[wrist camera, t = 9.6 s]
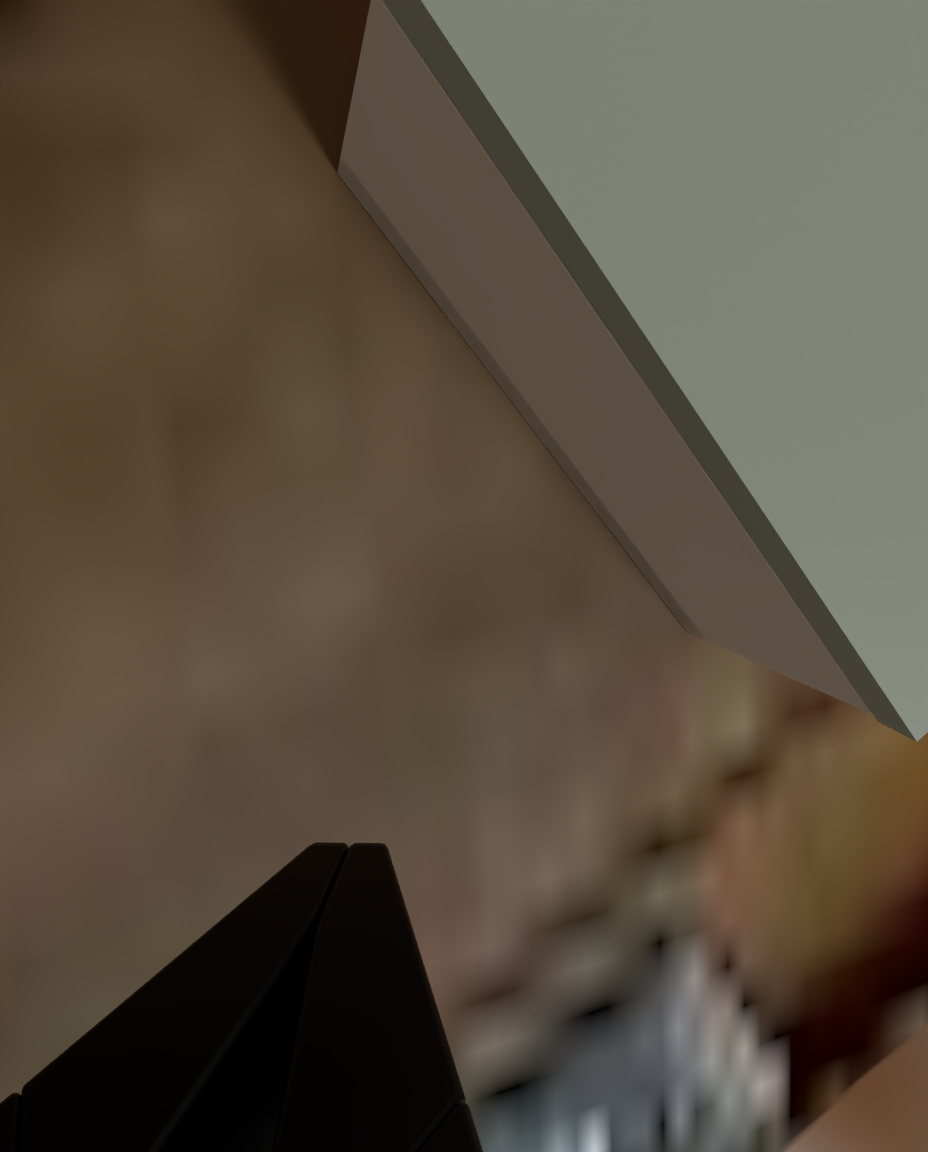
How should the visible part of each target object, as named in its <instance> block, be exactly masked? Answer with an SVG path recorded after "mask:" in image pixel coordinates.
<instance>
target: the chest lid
mask: <svg viewBox="0 0 928 1152" xmlns="http://www.w3.org/2000/svg"><path fill="white" fill-rule="evenodd" d="M384 1H385V2H386V4H387V5H388V7H389V8H390V10H391V11H392V13H393V14H394V15H395V17H396V18H397V20H398V21H399V23H400V24H401V26H402V27H403V29H404V30H405V32H406V33H407V34H408V36H409V37H410V39H411V40H412V42H413V43H414V45H415V46H416V48H417V49H418V51H419V52H420V53H421V55H422V56H423V58H424V59H425V61H426V62H427V64H428V65H429V67H430V68H431V70H432V71H433V72H434V74H435V75H436V77H437V78H438V80H439V81H440V83H441V84H442V86H443V87H444V88H445V90H446V91H447V93H448V94H449V96H450V97H451V99H452V100H453V102H454V103H455V105H456V106H457V107H458V109H459V110H460V112H461V113H462V115H463V116H464V118H465V119H466V121H467V122H468V124H469V125H470V126H471V128H472V129H473V131H474V132H475V134H476V135H477V137H478V138H479V140H480V141H481V142H482V144H483V145H484V147H485V148H486V150H487V151H488V153H489V154H490V156H491V157H492V159H493V160H494V161H495V163H496V164H497V166H498V167H499V169H500V170H501V172H502V173H503V175H504V176H505V178H506V179H507V180H508V182H509V183H510V185H511V186H512V188H513V189H514V191H515V192H516V194H517V195H518V197H519V198H520V199H521V201H522V202H523V204H524V205H525V207H526V208H527V210H528V211H529V213H530V214H531V215H532V217H533V218H534V220H535V221H536V223H537V224H538V226H539V227H540V229H541V230H542V232H543V233H544V234H545V236H546V237H547V239H548V240H549V242H550V243H551V245H552V246H553V248H554V249H555V251H556V252H557V253H558V255H559V256H560V258H561V259H562V261H563V262H564V264H565V265H566V267H567V268H568V270H569V271H570V272H571V274H572V275H573V277H574V278H575V280H576V281H577V283H578V284H579V286H580V287H581V288H582V290H583V291H584V293H585V294H586V296H587V297H588V299H589V300H590V302H591V303H592V305H593V306H594V307H595V309H596V310H597V312H598V313H599V315H600V316H601V318H602V319H603V321H604V322H605V324H606V325H607V326H608V328H609V329H610V331H611V332H612V334H613V335H614V337H615V338H616V340H617V341H618V342H619V344H620V345H621V347H622V348H623V350H624V351H625V353H626V354H627V356H628V357H629V359H630V360H631V361H632V363H633V364H634V366H635V367H636V369H637V370H638V372H639V373H640V375H641V376H642V378H643V379H644V380H645V382H646V383H647V385H648V386H649V388H650V389H651V391H652V392H653V394H654V395H655V397H656V398H657V399H658V401H659V402H660V404H661V405H662V407H663V408H664V410H665V411H666V413H667V414H668V415H669V417H670V418H671V420H672V421H673V423H674V424H675V426H676V427H677V429H678V430H679V432H680V433H681V434H682V436H683V437H684V439H685V440H686V442H687V443H688V445H689V446H690V448H691V449H692V451H693V452H694V453H695V455H696V456H697V458H698V459H699V461H700V462H701V464H702V465H703V467H704V468H705V470H706V471H707V472H708V474H709V475H710V477H711V478H712V480H713V481H714V483H715V484H716V486H717V487H718V488H719V490H720V491H721V493H722V494H723V496H724V497H725V499H726V500H727V502H728V503H729V505H730V506H731V507H732V509H733V510H734V512H735V513H736V515H737V516H738V518H739V519H740V521H741V522H742V524H743V525H744V526H745V528H746V529H747V531H748V532H749V534H750V535H751V537H752V538H753V540H754V541H755V542H756V544H757V545H758V547H759V548H760V550H761V551H762V553H763V554H764V556H765V557H766V559H767V560H768V561H769V563H770V564H771V566H772V567H773V569H774V570H775V572H776V573H777V575H778V576H779V578H780V579H781V580H782V582H783V583H784V585H785V586H786V588H787V589H788V591H789V592H790V594H791V595H792V597H793V598H794V599H795V601H796V602H797V604H798V605H799V607H800V608H801V610H802V611H803V613H804V614H805V615H806V617H807V618H808V620H809V621H810V623H811V624H812V626H813V627H814V629H815V630H816V632H817V633H818V634H819V636H820V637H821V639H822V640H823V642H824V643H825V645H826V646H827V648H828V649H829V651H830V652H831V653H832V655H833V656H834V658H835V659H836V661H837V662H838V664H839V665H840V667H841V668H842V670H843V671H844V672H845V674H846V675H847V677H848V678H849V680H850V681H851V683H852V684H853V686H854V687H855V688H856V690H857V691H858V693H859V694H860V696H861V697H862V699H863V700H864V702H865V703H866V705H867V706H868V707H869V709H870V710H871V712H872V713H873V715H874V716H875V718H876V719H877V721H878V722H880V723H882V724H884V725H886V726H888V727H890V728H892V729H894V730H896V731H897V732H899V733H901V734H903V735H905V736H907V737H909V738H911V739H913V740H915V741H918V740H919V739H920V738H922V737H923V736H924V735H925V734H926V733H927V732H928V0H384Z"/></svg>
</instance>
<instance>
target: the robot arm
mask: <svg viewBox="0 0 928 1152" xmlns="http://www.w3.org/2000/svg"><path fill="white" fill-rule="evenodd" d="M0 1152H483V1150H482V1147H481V1144H480V1141H479V1138H478V1134H477V1131H476V1128H475V1125H474V1121H473V1118H472V1115H471V1112H470V1108H469V1106H468V1105H467V1104H466V1103H465V1096H464V1092H463V1089H462V1086H461V1083H460V1080H459V1076H458V1073H457V1070H456V1067H455V1063H454V1060H453V1057H452V1054H451V1051H450V1047H449V1044H448V1041H447V1038H446V1034H445V1031H444V1028H443V1025H442V1022H441V1018H440V1015H439V1012H438V1009H437V1005H436V1002H435V999H434V996H433V993H432V989H431V986H430V983H429V980H428V976H427V973H426V970H425V967H424V964H423V960H422V957H421V954H420V951H419V947H418V944H417V941H416V938H415V935H414V931H413V928H412V925H411V922H410V918H409V915H408V912H407V909H406V906H405V902H404V899H403V896H402V893H401V889H400V886H399V883H398V880H397V877H396V873H395V870H394V867H393V864H392V860H391V857H390V854H389V851H388V848H387V846H386V845H385V844H382V843H354V844H353V845H351V846H350V847H348V845H346V844H345V843H314V844H312V845H310V846H308V847H307V848H306V849H305V850H304V851H302V852H301V853H300V854H299V855H298V856H296V857H295V858H294V859H293V860H292V861H291V862H289V863H288V864H287V865H286V866H285V867H283V868H282V869H281V870H280V871H279V872H277V873H276V874H275V875H274V876H273V877H271V878H270V879H269V880H268V881H267V882H266V883H264V884H263V885H262V886H261V887H260V888H258V889H257V890H256V891H255V892H254V893H252V894H251V895H250V896H249V897H248V898H246V899H245V900H244V901H243V902H242V903H241V904H239V905H238V906H237V907H236V908H235V909H233V910H232V911H231V912H230V913H229V914H227V915H226V916H225V917H224V918H223V919H221V920H220V921H219V922H218V923H217V924H215V925H214V926H213V927H212V928H211V929H210V930H208V931H207V932H206V933H205V934H204V935H202V936H201V937H200V938H199V939H198V940H196V941H195V942H194V943H193V944H192V945H190V946H189V947H188V948H187V949H186V950H185V951H183V952H182V953H181V954H180V955H179V956H177V957H176V958H175V959H174V960H173V961H171V962H170V963H169V964H168V965H167V966H165V967H164V968H163V969H162V970H161V971H160V972H158V973H157V974H156V975H155V976H154V977H152V978H151V979H150V980H149V981H148V982H146V983H145V984H144V985H143V986H142V987H140V988H139V989H138V990H137V991H136V992H135V993H133V994H132V995H131V996H130V997H129V998H127V999H126V1000H125V1001H124V1002H123V1003H121V1004H120V1005H119V1006H118V1007H117V1008H115V1009H114V1010H113V1011H112V1012H111V1013H109V1014H108V1015H107V1016H106V1017H105V1018H104V1019H102V1020H101V1021H100V1022H99V1023H98V1024H96V1025H95V1026H94V1027H93V1028H92V1029H90V1030H89V1031H88V1032H87V1033H86V1034H84V1035H83V1036H82V1037H81V1038H80V1039H79V1040H77V1041H76V1042H75V1043H74V1044H73V1045H71V1046H70V1047H69V1048H68V1049H67V1050H65V1051H64V1052H63V1053H62V1054H61V1055H59V1056H58V1057H57V1058H56V1059H55V1060H54V1061H52V1062H51V1063H50V1064H49V1065H48V1066H46V1067H45V1068H44V1069H43V1070H42V1071H40V1072H39V1073H38V1074H37V1075H36V1076H34V1077H33V1078H32V1079H31V1080H30V1081H29V1082H27V1083H26V1084H25V1085H24V1087H23V1089H22V1094H21V1095H20V1094H19V1093H13V1094H11V1095H10V1096H8V1097H7V1098H6V1099H5V1100H4V1101H2V1102H1V1103H0Z"/></svg>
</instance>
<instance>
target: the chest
mask: <svg viewBox="0 0 928 1152" xmlns="http://www.w3.org/2000/svg"><path fill="white" fill-rule="evenodd" d="M337 173H338V175H339V176H340V177H341V178H342V180H343V181H344V182H345V184H346V185H347V186H348V188H349V189H350V190H351V192H352V193H353V194H354V196H355V197H356V198H357V199H358V201H359V202H360V203H361V205H362V206H363V207H364V209H365V210H366V211H367V213H368V214H369V215H370V217H371V218H372V219H373V220H374V222H375V223H376V224H377V226H378V227H379V228H380V230H381V231H382V232H383V234H384V235H385V236H386V237H387V239H388V240H389V241H390V243H391V244H392V245H393V247H394V248H395V249H396V251H397V252H398V253H399V255H400V256H401V257H402V258H403V260H404V261H405V262H406V264H407V265H408V266H409V268H410V269H411V270H412V272H413V273H414V274H415V275H416V277H417V278H418V279H419V281H420V282H421V283H422V285H423V286H424V287H425V289H426V290H427V291H428V293H429V294H430V295H431V296H432V298H433V299H434V300H435V302H436V303H437V304H438V306H439V307H440V308H441V310H442V311H443V312H444V314H445V315H446V316H447V317H448V319H449V320H450V321H451V323H452V324H453V325H454V327H455V328H456V329H457V331H458V332H459V333H460V334H461V336H462V337H463V338H464V340H465V341H466V342H467V344H468V345H469V346H470V348H471V349H472V350H473V352H474V353H475V354H476V355H477V357H478V358H479V359H480V361H481V362H482V363H483V365H484V366H485V367H486V369H487V370H488V371H489V373H490V374H491V375H492V376H493V378H494V379H495V380H496V382H497V383H498V384H499V386H500V387H501V388H502V390H503V391H504V392H505V393H506V395H507V396H508V397H509V399H510V400H511V401H512V403H513V404H514V405H515V407H516V408H517V409H518V411H519V412H520V413H521V414H522V416H523V417H524V418H525V420H526V421H527V422H528V424H529V425H530V426H531V428H532V429H533V430H534V431H535V433H536V434H537V435H538V437H539V438H540V439H541V441H542V442H543V443H544V445H545V446H546V447H547V449H548V450H549V451H550V452H551V454H552V455H553V456H554V458H555V459H556V460H557V462H558V463H559V464H560V466H561V467H562V468H563V470H564V471H565V472H566V473H567V475H568V476H569V477H570V479H571V480H572V481H573V483H574V484H575V485H576V487H577V488H578V489H579V490H580V492H581V493H582V494H583V496H584V497H585V498H586V500H587V501H588V502H589V504H590V505H591V506H592V508H593V509H594V510H595V511H596V513H597V514H598V515H599V517H600V518H601V519H602V521H603V522H604V523H605V525H606V526H607V527H608V529H609V530H610V531H611V532H612V534H613V535H614V536H615V538H616V539H617V540H618V542H619V543H620V544H621V546H622V547H623V548H624V549H625V551H626V552H627V553H628V555H629V556H630V557H631V559H632V560H633V561H634V563H635V564H636V565H637V567H638V568H639V569H640V570H641V572H642V573H643V574H644V576H645V577H646V578H647V580H648V581H649V582H650V584H651V585H652V586H653V587H654V589H655V590H656V591H657V593H658V594H659V595H660V597H661V598H662V599H663V601H664V602H665V603H666V605H667V606H668V607H669V608H670V610H671V611H672V612H673V614H674V615H675V616H676V618H677V619H678V620H679V622H680V623H681V624H682V626H683V627H684V628H685V629H686V631H687V632H688V633H690V634H692V635H694V636H697V637H699V638H701V639H703V640H706V641H708V642H710V643H712V644H715V645H717V646H719V647H722V648H724V649H726V650H728V651H731V652H733V653H735V654H737V655H740V656H742V657H744V658H746V659H749V660H751V661H753V662H755V663H758V664H760V665H762V666H764V667H767V668H769V669H771V670H774V671H776V672H778V673H780V674H783V675H785V676H787V677H789V678H792V679H794V680H796V681H798V682H801V683H803V684H805V685H807V686H810V687H812V688H814V689H817V690H819V691H821V692H823V693H826V694H828V695H830V696H832V697H835V698H837V699H839V700H841V701H844V702H846V703H848V704H850V705H853V706H855V707H857V708H859V709H862V710H864V711H866V712H869V713H871V710H870V709H869V707H868V706H867V705H866V703H865V702H864V700H863V699H862V697H861V696H860V694H859V693H858V691H857V690H856V688H855V687H854V686H853V684H852V683H851V681H850V680H849V678H848V677H847V675H846V674H845V672H844V671H843V670H842V668H841V667H840V665H839V664H838V662H837V661H836V659H835V658H834V656H833V655H832V653H831V652H830V651H829V649H828V648H827V646H826V645H825V643H824V642H823V640H822V639H821V637H820V636H819V634H818V633H817V632H816V630H815V629H814V627H813V626H812V624H811V623H810V621H809V620H808V618H807V617H806V615H805V614H804V613H803V611H802V610H801V608H800V607H799V605H798V604H797V602H796V601H795V599H794V598H793V597H792V595H791V594H790V592H789V591H788V589H787V588H786V586H785V585H784V583H783V582H782V580H781V579H780V578H779V576H778V575H777V573H776V572H775V570H774V569H773V567H772V566H771V564H770V563H769V561H768V560H767V559H766V557H765V556H764V554H763V553H762V551H761V550H760V548H759V547H758V545H757V544H756V542H755V541H754V540H753V538H752V537H751V535H750V534H749V532H748V531H747V529H746V528H745V526H744V525H743V524H742V522H741V521H740V519H739V518H738V516H737V515H736V513H735V512H734V510H733V509H732V507H731V506H730V505H729V503H728V502H727V500H726V499H725V497H724V496H723V494H722V493H721V491H720V490H719V488H718V487H717V486H716V484H715V483H714V481H713V480H712V478H711V477H710V475H709V474H708V472H707V471H706V470H705V468H704V467H703V465H702V464H701V462H700V461H699V459H698V458H697V456H696V455H695V453H694V452H693V451H692V449H691V448H690V446H689V445H688V443H687V442H686V440H685V439H684V437H683V436H682V434H681V433H680V432H679V430H678V429H677V427H676V426H675V424H674V423H673V421H672V420H671V418H670V417H669V415H668V414H667V413H666V411H665V410H664V408H663V407H662V405H661V404H660V402H659V401H658V399H657V398H656V397H655V395H654V394H653V392H652V391H651V389H650V388H649V386H648V385H647V383H646V382H645V380H644V379H643V378H642V376H641V375H640V373H639V372H638V370H637V369H636V367H635V366H634V364H633V363H632V361H631V360H630V359H629V357H628V356H627V354H626V353H625V351H624V350H623V348H622V347H621V345H620V344H619V342H618V341H617V340H616V338H615V337H614V335H613V334H612V332H611V331H610V329H609V328H608V326H607V325H606V324H605V322H604V321H603V319H602V318H601V316H600V315H599V313H598V312H597V310H596V309H595V307H594V306H593V305H592V303H591V302H590V300H589V299H588V297H587V296H586V294H585V293H584V291H583V290H582V288H581V287H580V286H579V284H578V283H577V281H576V280H575V278H574V277H573V275H572V274H571V272H570V271H569V270H568V268H567V267H566V265H565V264H564V262H563V261H562V259H561V258H560V256H559V255H558V253H557V252H556V251H555V249H554V248H553V246H552V245H551V243H550V242H549V240H548V239H547V237H546V236H545V234H544V233H543V232H542V230H541V229H540V227H539V226H538V224H537V223H536V221H535V220H534V218H533V217H532V215H531V214H530V213H529V211H528V210H527V208H526V207H525V205H524V204H523V202H522V201H521V199H520V198H519V197H518V195H517V194H516V192H515V191H514V189H513V188H512V186H511V185H510V183H509V182H508V180H507V179H506V178H505V176H504V175H503V173H502V172H501V170H500V169H499V167H498V166H497V164H496V163H495V161H494V160H493V159H492V157H491V156H490V154H489V153H488V151H487V150H486V148H485V147H484V145H483V144H482V142H481V141H480V140H479V138H478V137H477V135H476V134H475V132H474V131H473V129H472V128H471V126H470V125H469V124H468V122H467V121H466V119H465V118H464V116H463V115H462V113H461V112H460V110H459V109H458V107H457V106H456V105H455V103H454V102H453V100H452V99H451V97H450V96H449V94H448V93H447V91H446V90H445V88H444V87H443V86H442V84H441V83H440V81H439V80H438V78H437V77H436V75H435V74H434V72H433V71H432V70H431V68H430V67H429V65H428V64H427V62H426V61H425V59H424V58H423V56H422V55H421V53H420V52H419V51H418V49H417V48H416V46H415V45H414V43H413V42H412V40H411V39H410V37H409V36H408V34H407V33H406V32H405V30H404V29H403V27H402V26H401V24H400V23H399V21H398V20H397V18H396V17H395V15H394V14H393V13H392V11H391V10H390V8H389V7H388V5H387V4H386V2H385V1H384V0H371V1H370V6H369V12H368V17H367V22H366V27H365V32H364V37H363V43H362V48H361V53H360V58H359V63H358V68H357V74H356V79H355V84H354V89H353V94H352V99H351V105H350V110H349V115H348V120H347V125H346V130H345V136H344V141H343V146H342V151H341V156H340V161H339V167H338V172H337Z"/></svg>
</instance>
